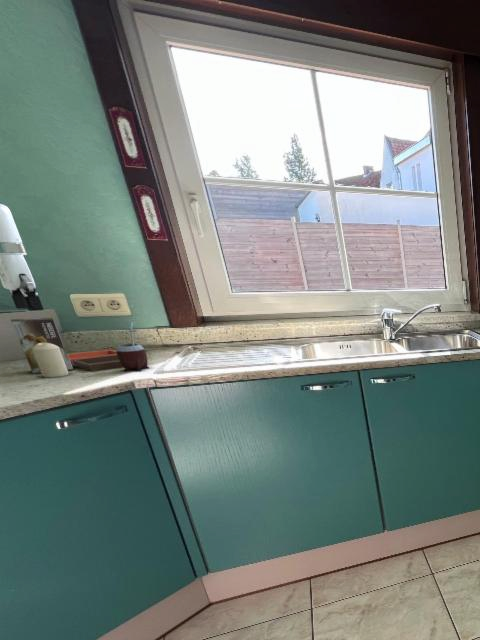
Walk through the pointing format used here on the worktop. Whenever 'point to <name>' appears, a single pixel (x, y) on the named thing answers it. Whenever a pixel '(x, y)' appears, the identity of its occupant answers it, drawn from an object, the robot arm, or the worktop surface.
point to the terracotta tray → (90, 355)
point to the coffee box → (38, 338)
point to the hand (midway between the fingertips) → (30, 309)
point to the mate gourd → (132, 355)
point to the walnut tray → (98, 363)
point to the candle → (50, 360)
